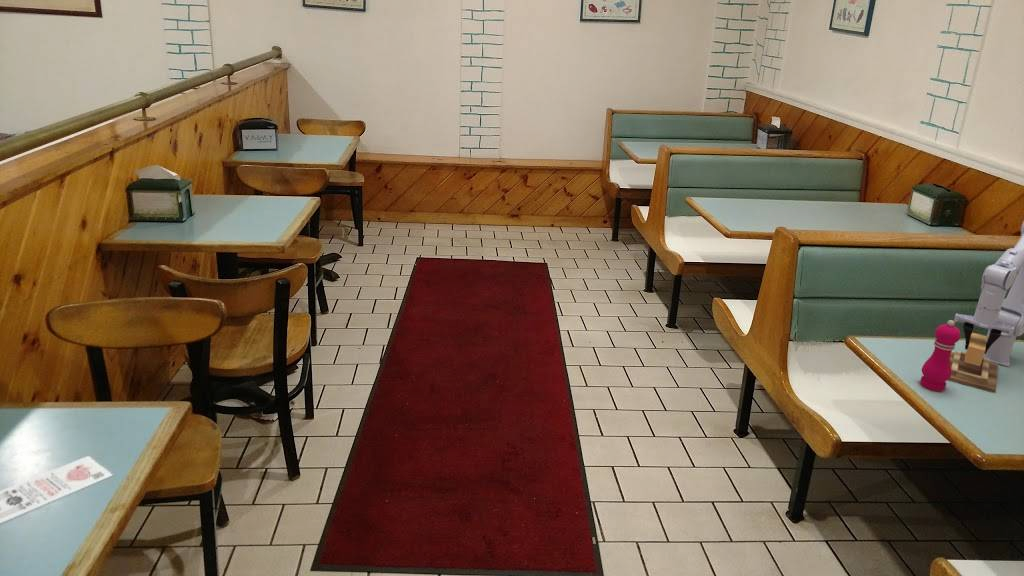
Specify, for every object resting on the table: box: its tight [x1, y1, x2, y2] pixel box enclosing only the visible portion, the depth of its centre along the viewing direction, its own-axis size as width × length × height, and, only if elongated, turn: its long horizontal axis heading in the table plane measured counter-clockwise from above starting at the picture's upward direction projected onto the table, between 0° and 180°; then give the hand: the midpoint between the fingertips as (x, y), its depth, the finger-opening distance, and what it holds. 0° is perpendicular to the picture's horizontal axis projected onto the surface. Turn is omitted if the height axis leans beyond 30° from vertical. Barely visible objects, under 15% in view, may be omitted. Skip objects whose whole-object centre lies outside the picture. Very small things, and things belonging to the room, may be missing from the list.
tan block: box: [964, 332, 987, 366], centre depth 218 cm, size 12×4×5 cm, turn 147°
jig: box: [948, 350, 999, 394], centre depth 220 cm, size 20×14×2 cm
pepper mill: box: [919, 319, 961, 392], centre depth 208 cm, size 7×7×20 cm
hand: (975, 350), depth 218 cm, fingers closed on tan block, 4 cm apart
